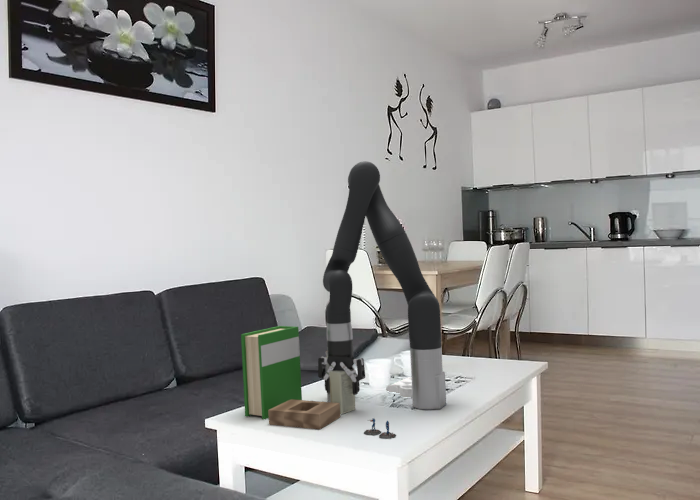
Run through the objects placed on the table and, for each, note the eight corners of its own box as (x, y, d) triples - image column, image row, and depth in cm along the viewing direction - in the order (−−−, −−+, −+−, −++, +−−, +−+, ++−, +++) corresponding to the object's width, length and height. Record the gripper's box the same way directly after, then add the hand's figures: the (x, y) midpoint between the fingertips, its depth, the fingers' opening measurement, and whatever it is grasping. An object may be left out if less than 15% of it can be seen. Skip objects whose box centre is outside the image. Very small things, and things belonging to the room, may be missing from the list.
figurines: (401, 436, 157) (400, 419, 157) (389, 441, 154) (388, 423, 154) (371, 429, 164) (370, 413, 164) (359, 434, 161) (358, 417, 160)
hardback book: (264, 419, 178) (260, 335, 177) (245, 416, 182) (240, 334, 181) (302, 404, 193) (298, 326, 192) (283, 402, 197) (279, 325, 196)
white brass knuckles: (408, 384, 214) (447, 388, 206) (381, 396, 199) (422, 401, 191) (407, 374, 214) (446, 378, 206) (380, 385, 199) (421, 390, 191)
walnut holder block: (340, 417, 176) (339, 403, 176) (319, 429, 165) (319, 414, 165) (291, 412, 183) (290, 399, 183) (268, 424, 172) (268, 410, 172)
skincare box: (345, 407, 186) (343, 366, 186) (356, 409, 183) (354, 368, 183) (330, 412, 182) (328, 370, 182) (341, 414, 179) (339, 372, 179)
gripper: (367, 336, 183) (369, 391, 183) (324, 335, 189) (326, 388, 189) (356, 340, 176) (358, 398, 176) (312, 339, 182) (314, 394, 182)
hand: (342, 393), depth 182 cm, fingers open, 8 cm apart
